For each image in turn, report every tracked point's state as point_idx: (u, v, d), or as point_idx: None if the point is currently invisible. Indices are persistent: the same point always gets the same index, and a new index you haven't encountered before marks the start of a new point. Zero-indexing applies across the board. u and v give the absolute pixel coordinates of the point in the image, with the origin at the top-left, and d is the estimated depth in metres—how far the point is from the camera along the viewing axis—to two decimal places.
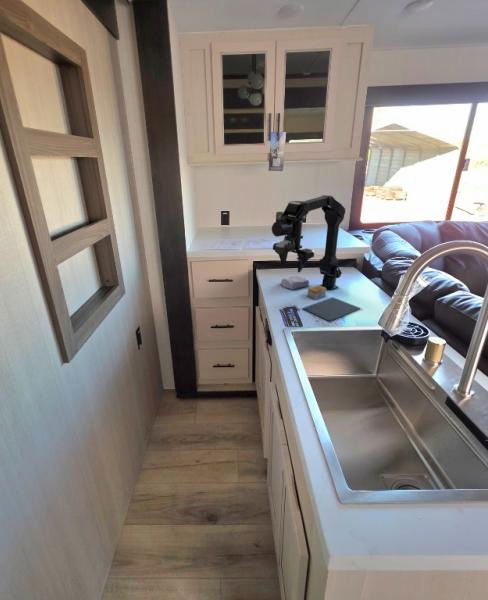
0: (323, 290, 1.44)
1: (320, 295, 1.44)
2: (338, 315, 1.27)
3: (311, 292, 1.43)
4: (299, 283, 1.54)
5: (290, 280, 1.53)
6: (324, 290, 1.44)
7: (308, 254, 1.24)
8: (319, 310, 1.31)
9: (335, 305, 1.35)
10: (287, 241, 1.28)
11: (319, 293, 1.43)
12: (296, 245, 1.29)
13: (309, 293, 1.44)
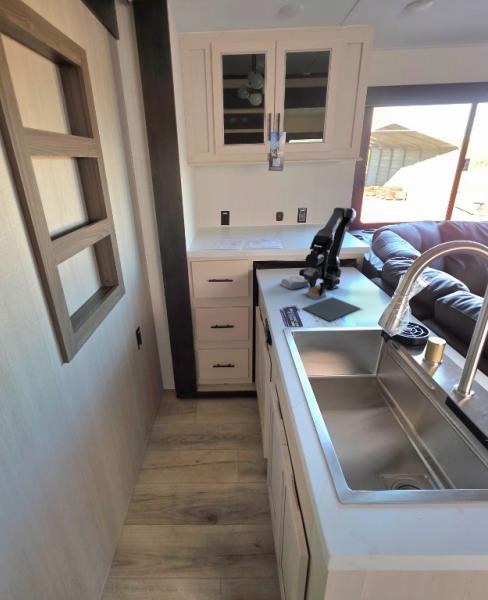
0: None
1: None
2: (338, 315, 1.27)
3: (311, 292, 1.43)
4: (299, 283, 1.54)
5: (290, 280, 1.53)
6: None
7: (335, 281, 1.34)
8: (319, 310, 1.31)
9: (335, 305, 1.35)
10: (314, 269, 1.38)
11: (319, 293, 1.43)
12: (322, 272, 1.39)
13: (309, 293, 1.44)
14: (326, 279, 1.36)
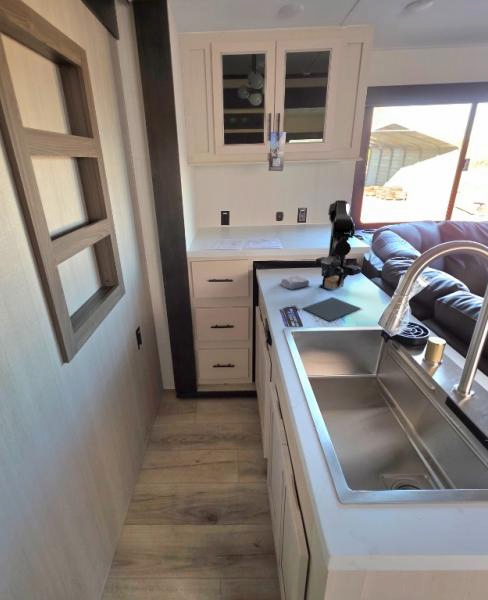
0: None
1: None
2: (338, 315, 1.27)
3: (328, 283, 1.33)
4: (299, 283, 1.54)
5: (290, 280, 1.53)
6: None
7: (355, 270, 1.24)
8: (319, 310, 1.31)
9: (335, 305, 1.35)
10: (333, 257, 1.28)
11: (337, 284, 1.32)
12: (341, 261, 1.28)
13: (326, 284, 1.34)
14: (346, 268, 1.25)
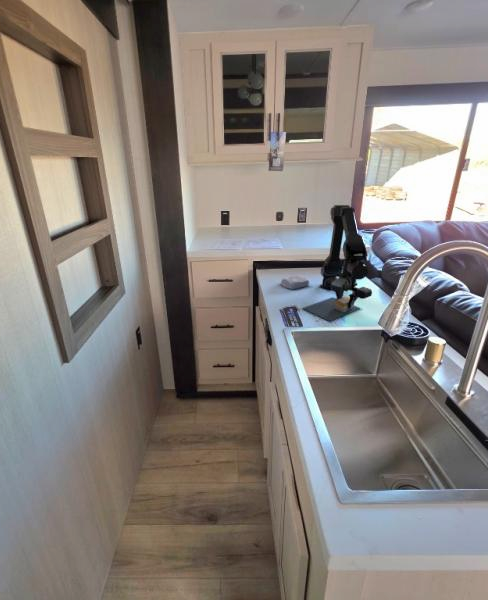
0: None
1: (348, 308, 1.30)
2: (338, 315, 1.27)
3: (339, 304, 1.30)
4: (299, 283, 1.54)
5: (290, 280, 1.53)
6: None
7: (367, 293, 1.21)
8: (319, 310, 1.31)
9: None
10: (343, 279, 1.25)
11: None
12: (352, 283, 1.25)
13: (336, 305, 1.31)
14: (357, 291, 1.22)
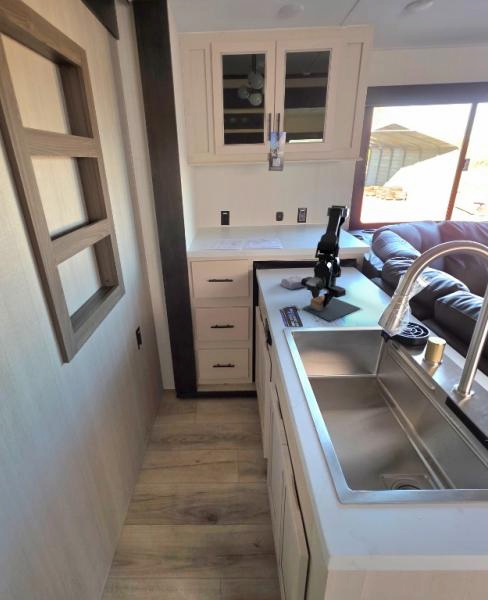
0: None
1: None
2: (338, 315, 1.27)
3: (314, 303, 1.31)
4: (299, 283, 1.54)
5: (290, 280, 1.53)
6: None
7: (340, 292, 1.22)
8: None
9: (335, 305, 1.35)
10: (318, 278, 1.26)
11: (323, 304, 1.30)
12: (327, 282, 1.26)
13: (312, 304, 1.32)
14: (331, 290, 1.23)
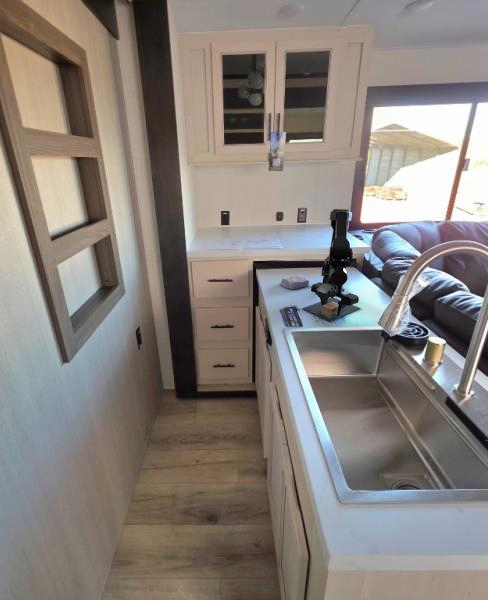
0: None
1: (335, 313, 1.26)
2: None
3: (325, 310, 1.25)
4: (299, 283, 1.54)
5: (290, 280, 1.53)
6: None
7: (353, 300, 1.16)
8: (319, 310, 1.31)
9: None
10: (329, 285, 1.20)
11: (334, 311, 1.25)
12: (339, 289, 1.20)
13: (323, 311, 1.26)
14: (343, 297, 1.18)
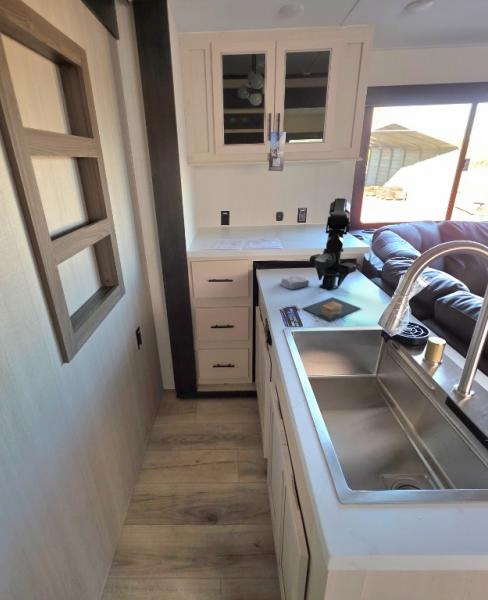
0: (339, 308, 1.26)
1: (335, 313, 1.26)
2: (338, 315, 1.27)
3: (325, 310, 1.25)
4: (299, 283, 1.54)
5: (290, 280, 1.53)
6: (340, 308, 1.26)
7: (351, 268, 1.19)
8: (319, 310, 1.31)
9: None
10: (327, 255, 1.23)
11: (334, 311, 1.25)
12: (336, 259, 1.23)
13: (323, 311, 1.26)
14: (341, 266, 1.20)
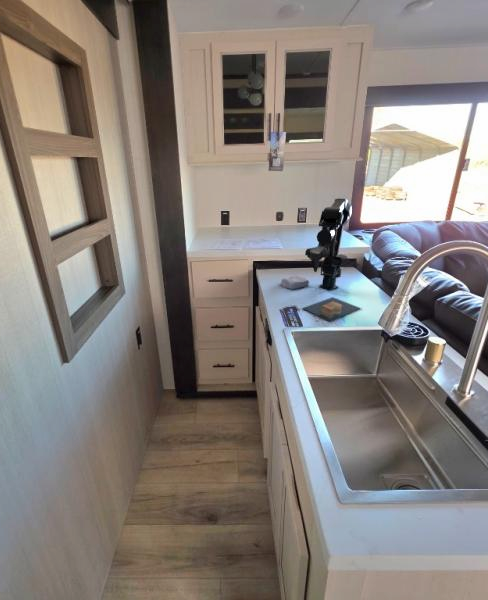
0: (339, 308, 1.26)
1: (335, 313, 1.26)
2: (338, 315, 1.27)
3: (325, 310, 1.25)
4: (299, 283, 1.54)
5: (290, 280, 1.53)
6: (340, 308, 1.26)
7: (344, 260, 1.26)
8: (319, 310, 1.31)
9: None
10: (322, 247, 1.29)
11: (334, 311, 1.25)
12: (330, 251, 1.30)
13: (323, 311, 1.26)
14: (334, 257, 1.27)
